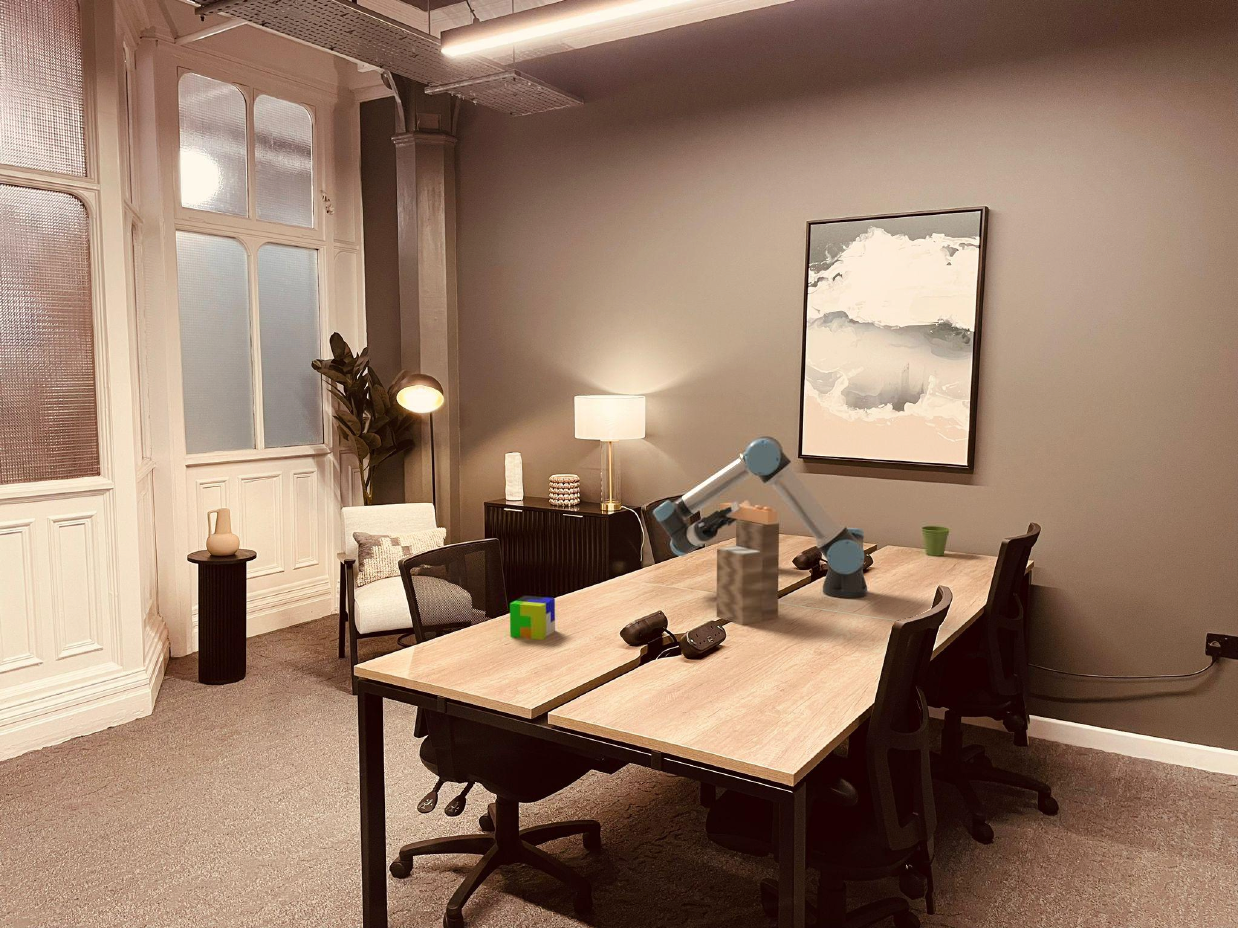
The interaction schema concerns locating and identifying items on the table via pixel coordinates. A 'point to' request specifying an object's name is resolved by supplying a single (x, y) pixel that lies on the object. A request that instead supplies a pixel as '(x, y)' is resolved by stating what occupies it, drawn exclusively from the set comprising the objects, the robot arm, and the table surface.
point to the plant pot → (935, 539)
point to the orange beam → (753, 513)
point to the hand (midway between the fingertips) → (743, 504)
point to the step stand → (749, 574)
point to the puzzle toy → (532, 617)
